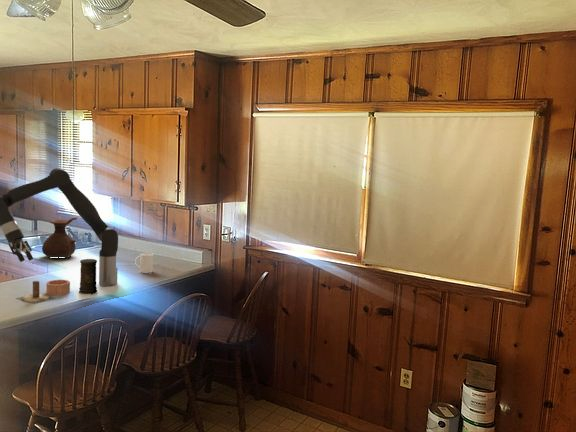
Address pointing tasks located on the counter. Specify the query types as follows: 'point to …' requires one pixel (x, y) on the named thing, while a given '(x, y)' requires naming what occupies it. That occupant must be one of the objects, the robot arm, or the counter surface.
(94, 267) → the container
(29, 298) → the lid
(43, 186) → the robot arm
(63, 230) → the brown vase
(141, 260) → the mug
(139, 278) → the counter surface
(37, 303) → the mat
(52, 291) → the bowl
